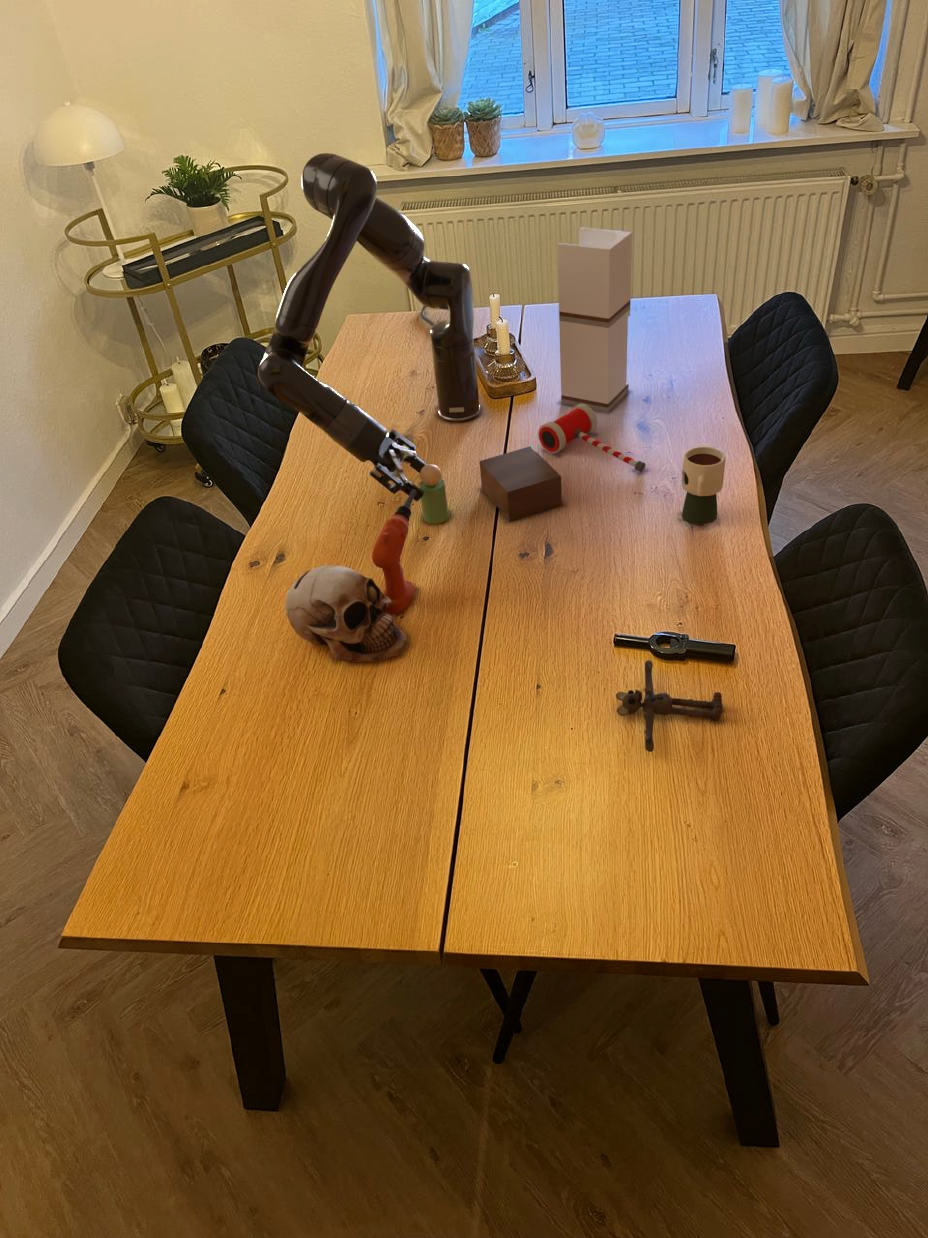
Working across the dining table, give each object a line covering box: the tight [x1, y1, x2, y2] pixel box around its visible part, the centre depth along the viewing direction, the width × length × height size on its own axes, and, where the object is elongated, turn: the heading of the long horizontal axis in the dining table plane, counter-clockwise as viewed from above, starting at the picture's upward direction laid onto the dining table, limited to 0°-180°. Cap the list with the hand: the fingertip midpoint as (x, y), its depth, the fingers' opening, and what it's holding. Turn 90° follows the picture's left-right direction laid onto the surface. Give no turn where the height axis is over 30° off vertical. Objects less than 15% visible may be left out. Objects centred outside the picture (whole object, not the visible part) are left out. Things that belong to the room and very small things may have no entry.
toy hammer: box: [537, 404, 646, 473], centre depth 187 cm, size 23×12×6 cm, turn 44°
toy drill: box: [371, 489, 416, 614], centre depth 156 cm, size 5×19×15 cm, turn 163°
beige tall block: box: [556, 226, 633, 414], centre depth 197 cm, size 11×11×35 cm
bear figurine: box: [615, 659, 724, 753], centre depth 131 cm, size 18×4×14 cm
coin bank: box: [285, 564, 408, 663], centre depth 148 cm, size 16×17×13 cm
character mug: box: [681, 445, 727, 525], centre depth 164 cm, size 11×7×13 cm, turn 164°
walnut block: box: [479, 445, 563, 522], centre depth 177 cm, size 13×11×6 cm
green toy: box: [418, 463, 450, 525], centre depth 173 cm, size 5×5×11 cm
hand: (424, 484), depth 172 cm, fingers open, 8 cm apart
